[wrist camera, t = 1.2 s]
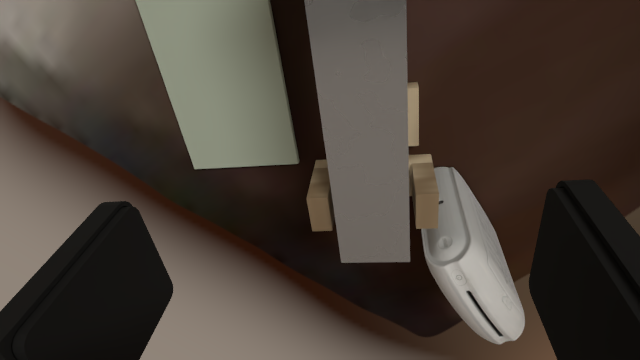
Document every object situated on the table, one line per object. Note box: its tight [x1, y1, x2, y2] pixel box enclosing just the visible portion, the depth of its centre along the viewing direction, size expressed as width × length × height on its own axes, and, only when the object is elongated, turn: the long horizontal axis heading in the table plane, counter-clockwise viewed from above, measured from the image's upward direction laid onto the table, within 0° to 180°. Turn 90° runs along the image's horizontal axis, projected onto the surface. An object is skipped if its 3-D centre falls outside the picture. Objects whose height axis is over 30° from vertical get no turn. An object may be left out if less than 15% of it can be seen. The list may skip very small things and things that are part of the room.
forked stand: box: [306, 82, 439, 231], centre depth 24 cm, size 7×21×13 cm, turn 8°
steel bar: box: [304, 0, 410, 263], centre depth 20 cm, size 4×22×4 cm, turn 8°
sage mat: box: [136, 0, 299, 169], centre depth 31 cm, size 10×24×1 cm, turn 8°
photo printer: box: [421, 167, 525, 344], centre depth 33 cm, size 10×4×12 cm, turn 36°
